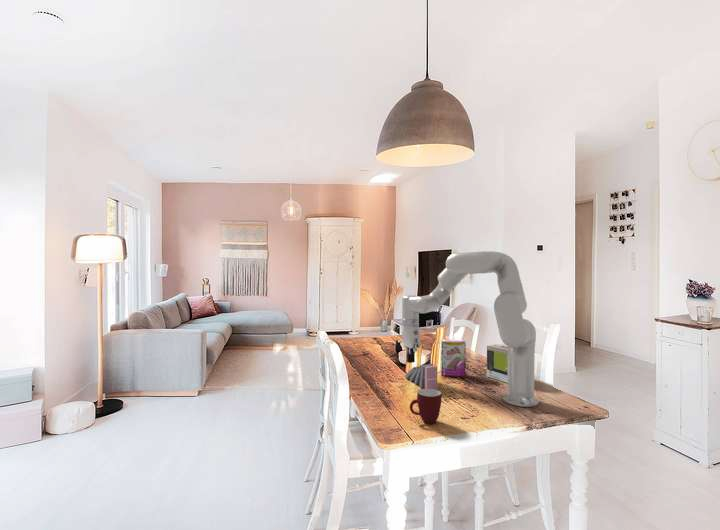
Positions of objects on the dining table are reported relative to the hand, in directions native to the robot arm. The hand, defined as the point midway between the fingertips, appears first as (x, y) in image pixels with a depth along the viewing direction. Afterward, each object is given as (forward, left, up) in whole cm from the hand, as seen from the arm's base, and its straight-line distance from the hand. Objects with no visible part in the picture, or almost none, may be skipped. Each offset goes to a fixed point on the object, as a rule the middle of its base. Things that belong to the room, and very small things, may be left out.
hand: (410, 362), depth 181 cm
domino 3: (-8, -3, -7) cm, 11 cm away
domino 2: (-4, -1, -7) cm, 8 cm away
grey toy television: (-1, -43, -8) cm, 44 cm away
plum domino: (-17, -7, -8) cm, 20 cm away
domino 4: (-12, -5, -7) cm, 15 cm away
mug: (-49, 0, -8) cm, 49 cm away
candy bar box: (+5, -20, -8) cm, 22 cm away
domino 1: (0, 0, -7) cm, 7 cm away
